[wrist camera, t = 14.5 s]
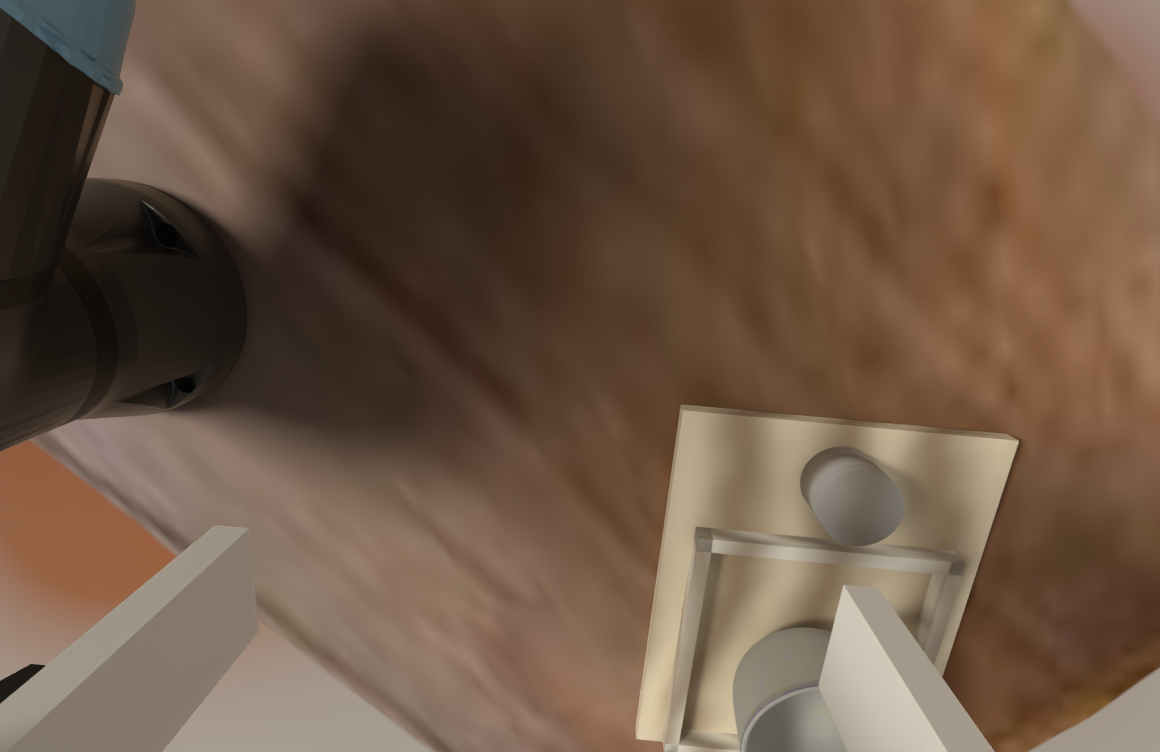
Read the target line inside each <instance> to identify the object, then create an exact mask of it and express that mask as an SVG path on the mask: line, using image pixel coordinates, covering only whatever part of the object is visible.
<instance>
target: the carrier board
mask: <svg viewBox="0 0 1160 752" xmlns="http://www.w3.org/2000/svg"><path fill="white" fill-rule="evenodd" d="M1018 443H1019V441H1018V440H1017V439H1015V438H1013V437H1012V436H1010V435H1008V434H1003V433H992V432H981V431H970V430H959V429H948V428H937V427H926V426H915V425H904V424H893V423H881V422H870V421H859V420H848V419H837V418H826V417H815V416H804V415H793V414H782V413H771V412H760V411H749V410H738V409H727V408H716V407H705V406H694V405H683V404H681V406H680V413H679V420H678V427H677V434H676V442H675V449H674V456H673V463H672V470H671V477H670V484H669V492H668V499H667V506H666V513H665V520H664V527H663V534H662V542H661V549H660V556H659V563H658V570H657V577H656V584H655V592H654V599H653V606H652V613H651V620H650V627H649V634H648V642H647V649H646V656H645V663H644V670H643V677H642V684H641V692H640V699H639V706H638V713H637V720H636V739H642V740H652V741H662V742H663V749H664V752H740V742H739V737H738V732H737V726H736V721H735V714H734V706H733V682H734V677H735V673H736V670H737V667H738V665H739V663H740V661H741V659H742V658H743V656H744V655H745V654H746V652H747V651H748V650H749V649H750V648H751V647H752V646H753V645H754V644H755V643H757V642H758V641H759V640H761V639H763V638H764V637H766V636H768V635H770V634H772V633H775V632H777V631H781V630H785V629H790V628H797V627H808V628H816V629H821V630H825V631H829V632H832V629H833V625H834V621H835V617H836V613H837V609H838V605H839V601H840V597H841V593H842V589H843V585H851V586H862V587H873V588H879V589H880V591H881V592H882V593H883V595H884V596H885V598H886V599H887V600H888V602H889V603H890V605H891V606H892V607H893V609H894V610H895V612H896V613H897V615H898V616H899V617H900V619H901V620H902V622H903V623H904V624H905V626H906V627H907V629H908V630H909V631H910V633H911V634H912V636H913V637H914V639H915V640H916V641H917V643H918V644H919V646H920V647H921V648H922V650H923V651H924V653H925V654H926V655H927V657H928V658H929V660H930V661H931V663H932V664H933V665H934V667H935V668H936V670H937V671H938V672H939V674H940V675H941V677H943V674H944V671H945V667H946V664H947V661H948V658H949V655H950V652H951V649H952V646H953V643H954V640H955V637H956V634H957V631H958V627H959V624H960V621H961V618H962V615H963V612H964V609H965V606H966V603H967V600H968V597H969V594H970V591H971V588H972V584H973V581H974V578H975V575H976V572H977V569H978V566H979V563H980V560H981V557H982V554H983V551H984V548H985V544H986V541H987V538H988V535H989V532H990V529H991V526H992V523H993V520H994V517H995V514H996V511H997V508H998V504H999V501H1000V498H1001V495H1002V492H1003V489H1004V486H1005V483H1006V480H1007V477H1008V474H1009V471H1010V468H1011V465H1012V461H1013V458H1014V455H1015V452H1016V449H1017V446H1018Z"/></svg>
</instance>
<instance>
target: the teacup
mask: <svg viewBox="0 0 1160 752" xmlns="http://www.w3.org/2000/svg"><path fill="white" fill-rule="evenodd" d="M831 633H832V632H829V631H825V630H821V629H816V628H808V627H797V628H790V629H785V630H781V631H777V632H775V633H772V634H770V635H768V636H766V637H764V638H763V639H761V640H759V641H758V642H757V643H755V644H754V645H753V646H752V647H751V648H750V649H749V650H748V651H747V652H746V654H745V655H744V656H743V658H742V659H741V661H740V663H739V665H738V667H737V670H736V673H735V677H734V682H733V706H734V714H735V721H736V726H737V732H738V737H739V742H740V752H847V750H846V748H845V746H844V743H843V741H842V739H841V736H840V734H839V732H838V730H837V727H836V725H835V723H834V721H833V718H832V716H831V714H830V711H829V709H828V707H827V705H826V702H825V700H824V698H823V696H822V693H821V691H820V689H819V686H818V685H819V681H820V677H821V673H822V669H823V665H824V661H825V657H826V653H827V649H828V645H829V641H830V637H831Z"/></svg>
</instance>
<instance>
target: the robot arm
mask: <svg viewBox="0 0 1160 752" xmlns="http://www.w3.org/2000/svg"><path fill="white" fill-rule="evenodd" d="M135 4H136V2H135V0H0V451H3V450H5V449H7V448H10V447H12V446H14V445H17V444H19V443H22V442H24V441H26V440H29V439H31V438H33V437H36V436H38V435H41V434H43V433H45V432H48V431H50V430H53V429H55V428H57V427H59V426H62V425H64V424H67V423H69V422H72V421H74V420H80V419H95V418H111V417H126V416H141V415H150V414H156V413H160V412H164V411H168V410H171V409H174V408H176V407H179V406H181V405H183V404H185V403H187V402H189V401H191V400H193V399H196V398H198V397H200V396H202V395H203V394H205V393H207V392H208V391H210V390H211V389H213V388H214V387H215V386H217V385H218V384H219V383H220V382H221V381H222V380H223V379H224V378H225V377H226V375H227V374H228V373H229V372H230V370H231V369H232V367H233V365H234V364H235V362H236V360H237V358H238V356H239V353H240V351H241V348H242V344H243V341H244V335H245V328H246V308H245V300H244V295H243V290H242V286H241V283H240V280H239V277H238V274H237V272H236V269H235V267H234V265H233V263H232V261H231V259H230V257H229V255H228V253H227V252H226V250H225V248H224V247H223V245H222V244H221V242H220V241H219V240H218V238H217V237H216V236H215V234H214V233H213V232H212V231H211V230H210V228H209V227H208V226H207V225H206V224H205V223H204V222H203V221H202V220H201V219H200V218H199V217H198V216H197V215H196V214H194V213H193V212H192V211H191V210H189V209H188V208H187V207H186V206H184V205H183V204H181V203H180V202H179V201H177V200H175V199H174V198H172V197H170V196H169V195H167V194H165V193H163V192H161V191H159V190H156V189H154V188H152V187H149V186H146V185H143V184H140V183H136V182H132V181H127V180H120V179H102V178H86V177H87V174H88V171H89V168H90V165H91V162H92V159H93V157H94V154H95V151H96V148H97V145H98V142H99V139H100V136H101V133H102V130H103V127H104V125H105V122H106V119H107V116H108V113H109V110H110V107H111V104H112V101H113V98H114V95H115V94H116V95H120V93H121V91H122V86H123V83H122V81H121V80H120V78H119V76H120V72H121V67H122V63H123V58H124V54H125V49H126V45H127V41H128V37H129V33H130V29H131V26H132V22H133V18H134V14H135ZM258 632H259V629H258V618H257V607H256V597H255V586H254V576H253V565H252V554H251V544H250V533H249V528H240V527H229V526H219V525H214V526H213V527H212V528H211V529H210V530H208V531H207V532H206V533H205V534H204V535H202V536H201V537H200V538H199V539H198V540H196V541H195V542H194V543H193V544H192V545H190V546H189V547H188V548H187V549H186V550H184V551H183V552H182V553H181V554H180V555H178V556H177V557H176V558H175V559H174V560H173V561H171V562H170V563H169V564H168V565H167V566H165V567H164V568H163V569H162V570H160V571H159V572H158V573H157V574H156V575H154V577H152V578H151V579H150V580H148V581H147V582H146V583H145V584H144V585H143V586H142V587H140V588H139V589H138V590H136V591H135V592H134V593H133V594H132V595H130V596H129V597H128V598H127V599H126V600H125V601H123V602H122V603H121V604H120V605H118V606H117V607H116V608H115V609H114V610H112V611H111V612H110V613H109V614H108V615H106V616H105V617H104V618H103V619H102V620H100V621H99V622H98V623H97V624H96V625H94V626H93V627H92V628H91V629H90V630H88V631H87V632H86V633H85V634H84V635H82V636H81V637H80V638H79V639H78V640H76V641H75V642H74V643H73V644H72V645H70V646H69V647H68V648H67V649H66V650H64V651H63V652H62V653H61V654H60V655H58V656H57V657H56V658H55V659H54V660H52V661H51V662H50V663H49V664H48V665H35V664H30V665H29V666H27V667H25V668H23V669H21V670H19V671H18V672H16V673H14V674H12V675H10V676H8V677H6V678H5V679H3V680H1V681H0V752H162V751H163V750H164V749H165V747H166V746H167V745H168V744H169V742H170V741H171V740H172V739H173V737H174V736H175V735H176V734H177V733H178V731H179V730H180V729H181V727H182V726H183V725H184V724H185V722H186V721H187V720H188V719H189V718H190V716H191V715H192V714H193V712H194V711H195V710H196V709H197V708H198V706H199V705H200V704H201V703H202V701H203V700H204V699H205V698H206V696H207V695H208V694H209V693H210V691H211V690H212V689H213V688H214V686H215V685H216V684H217V683H218V681H219V680H220V679H221V678H222V676H223V675H224V674H225V673H226V671H227V670H228V669H229V668H230V667H231V665H232V664H233V663H234V661H235V660H236V659H237V658H238V657H239V655H240V654H241V653H242V651H243V650H244V649H245V648H246V646H247V645H248V644H249V643H250V642H251V640H252V639H253V638H254V637H255V635H256V634H257V633H258ZM818 686H819V689H820V691H821V693H822V696H823V698H824V700H825V702H826V705H827V707H828V709H829V711H830V714H831V716H832V718H833V721H834V723H835V725H836V727H837V730H838V732H839V734H840V736H841V739H842V741H843V743H844V746H845V748H846V750H847V752H994V750H993V749H992V747H991V746H990V744H989V743H988V742H987V740H986V739H985V737H984V736H983V735H982V733H981V732H980V730H979V729H978V728H977V726H976V725H975V723H974V722H973V720H972V719H971V718H970V716H969V715H968V713H967V712H966V711H965V709H964V708H963V706H962V705H961V704H960V702H959V701H958V699H957V698H956V696H955V695H954V694H953V692H952V691H951V689H950V688H949V687H948V685H947V684H946V682H945V681H944V680H943V678H942V677H941V675H940V674H939V672H938V671H937V670H936V668H935V667H934V665H933V664H932V663H931V661H930V660H929V658H928V657H927V655H926V654H925V653H924V651H923V650H922V648H921V647H920V646H919V644H918V643H917V641H916V640H915V639H914V637H913V636H912V634H911V633H910V631H909V630H908V629H907V627H906V626H905V624H904V623H903V622H902V620H901V619H900V617H899V616H898V615H897V613H896V612H895V610H894V609H893V607H892V606H891V605H890V603H889V602H888V600H887V599H886V598H885V596H884V595H883V593H882V592H881V591H880V589H879V588H873V587H862V586H851V585H843V589H842V593H841V597H840V601H839V605H838V609H837V613H836V617H835V621H834V625H833V629H832V633H831V637H830V641H829V645H828V649H827V653H826V657H825V661H824V665H823V669H822V673H821V677H820V681H819V685H818Z"/></svg>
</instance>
